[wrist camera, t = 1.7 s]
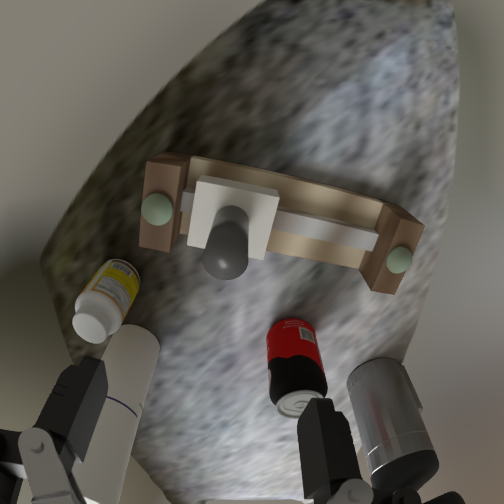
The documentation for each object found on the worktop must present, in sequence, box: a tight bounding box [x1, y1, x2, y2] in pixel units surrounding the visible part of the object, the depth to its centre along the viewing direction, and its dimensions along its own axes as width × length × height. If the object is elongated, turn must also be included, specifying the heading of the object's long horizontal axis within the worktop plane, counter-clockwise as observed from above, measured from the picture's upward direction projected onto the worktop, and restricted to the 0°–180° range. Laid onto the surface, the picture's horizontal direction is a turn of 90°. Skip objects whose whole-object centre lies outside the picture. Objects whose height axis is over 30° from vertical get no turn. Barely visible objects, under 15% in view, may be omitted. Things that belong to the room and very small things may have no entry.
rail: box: [139, 151, 425, 295], centre depth 29 cm, size 26×8×6 cm, turn 78°
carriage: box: [187, 175, 280, 280], centre depth 25 cm, size 7×6×10 cm
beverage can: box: [266, 318, 328, 419], centre depth 34 cm, size 6×6×12 cm
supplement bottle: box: [72, 259, 140, 344], centre depth 31 cm, size 6×6×10 cm
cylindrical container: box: [72, 324, 160, 504], centre depth 30 cm, size 7×7×25 cm
